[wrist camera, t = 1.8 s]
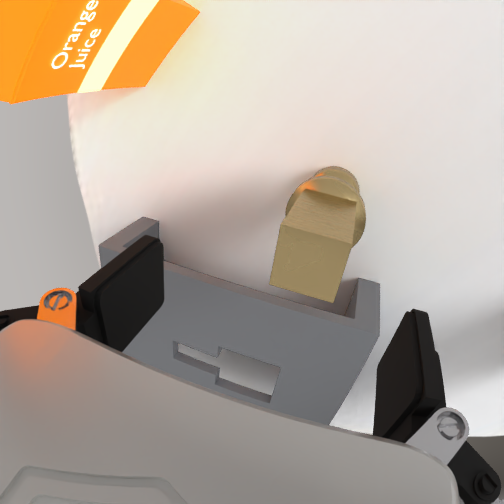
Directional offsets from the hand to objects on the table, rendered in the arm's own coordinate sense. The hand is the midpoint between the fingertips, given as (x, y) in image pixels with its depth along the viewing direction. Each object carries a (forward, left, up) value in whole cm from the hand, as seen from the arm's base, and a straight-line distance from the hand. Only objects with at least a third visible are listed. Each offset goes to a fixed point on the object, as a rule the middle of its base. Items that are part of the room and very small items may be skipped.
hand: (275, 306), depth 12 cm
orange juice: (+18, -12, -16) cm, 27 cm away
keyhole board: (+5, +16, -16) cm, 23 cm away
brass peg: (-1, 0, -16) cm, 16 cm away
